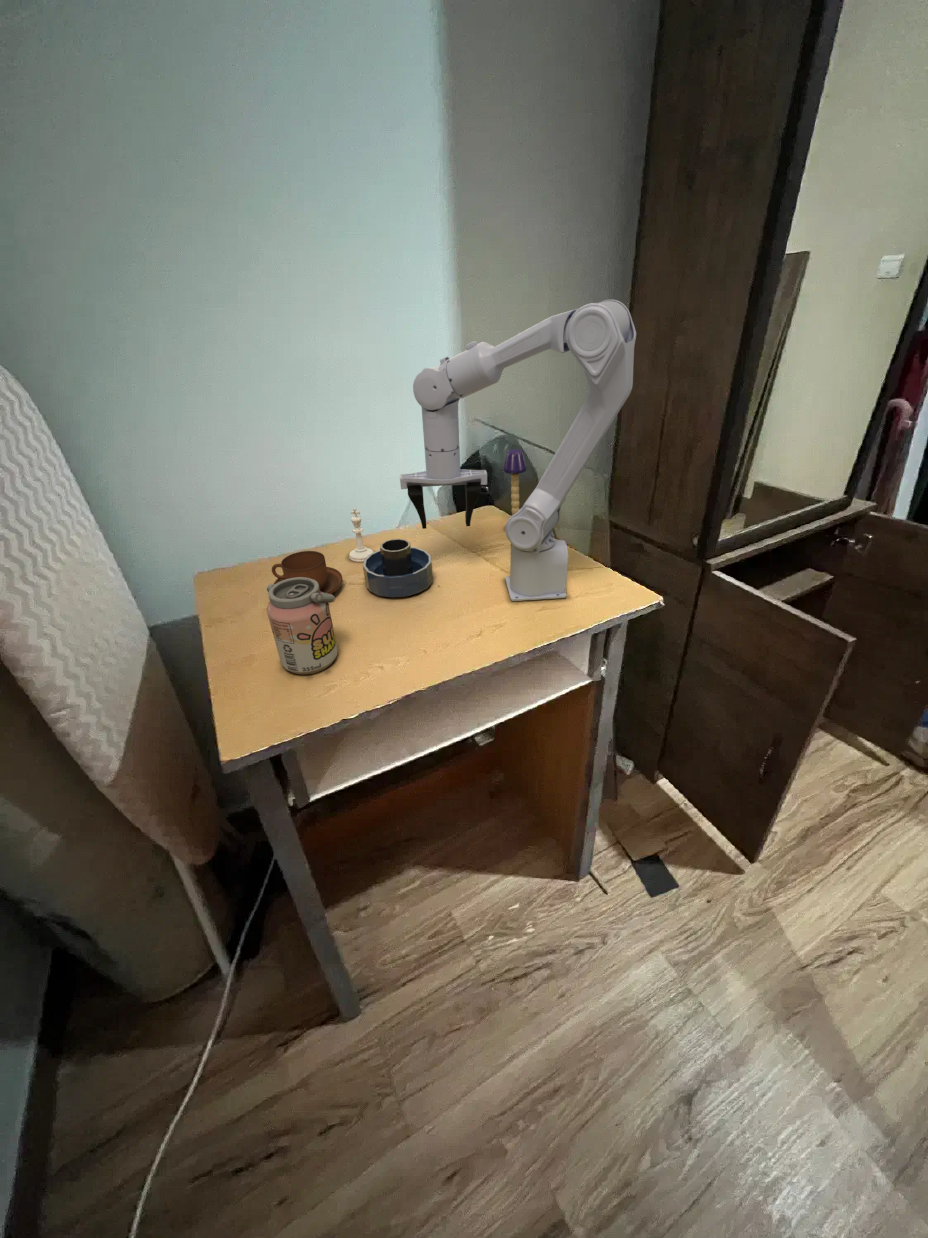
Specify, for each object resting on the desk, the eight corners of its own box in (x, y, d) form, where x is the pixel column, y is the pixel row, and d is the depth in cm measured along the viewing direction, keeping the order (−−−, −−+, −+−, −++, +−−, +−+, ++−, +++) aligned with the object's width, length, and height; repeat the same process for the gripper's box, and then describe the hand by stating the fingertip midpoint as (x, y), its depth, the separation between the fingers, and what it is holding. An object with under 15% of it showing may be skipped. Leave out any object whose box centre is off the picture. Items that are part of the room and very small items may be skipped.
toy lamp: (502, 532, 113) (502, 453, 104) (504, 523, 117) (505, 447, 107) (524, 533, 112) (527, 454, 103) (526, 524, 116) (528, 447, 107)
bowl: (432, 565, 101) (430, 544, 98) (433, 597, 91) (431, 574, 88) (369, 569, 100) (366, 548, 98) (363, 602, 90) (359, 579, 88)
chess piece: (369, 562, 103) (362, 514, 97) (345, 560, 104) (337, 512, 98) (377, 551, 107) (371, 504, 101) (354, 550, 108) (347, 503, 102)
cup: (413, 572, 97) (410, 537, 93) (413, 586, 93) (409, 550, 89) (385, 574, 97) (381, 539, 93) (383, 588, 93) (379, 552, 89)
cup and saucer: (271, 613, 88) (263, 581, 85) (277, 579, 98) (270, 549, 95) (344, 603, 90) (338, 571, 87) (343, 571, 100) (337, 541, 96)
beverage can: (308, 634, 82) (292, 566, 76) (354, 645, 80) (341, 575, 73) (269, 669, 75) (247, 597, 69) (318, 683, 72) (300, 609, 66)
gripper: (483, 438, 89) (484, 514, 97) (398, 442, 89) (405, 518, 96) (488, 450, 83) (488, 529, 91) (396, 454, 83) (404, 534, 90)
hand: (446, 525), depth 93 cm, fingers open, 7 cm apart
